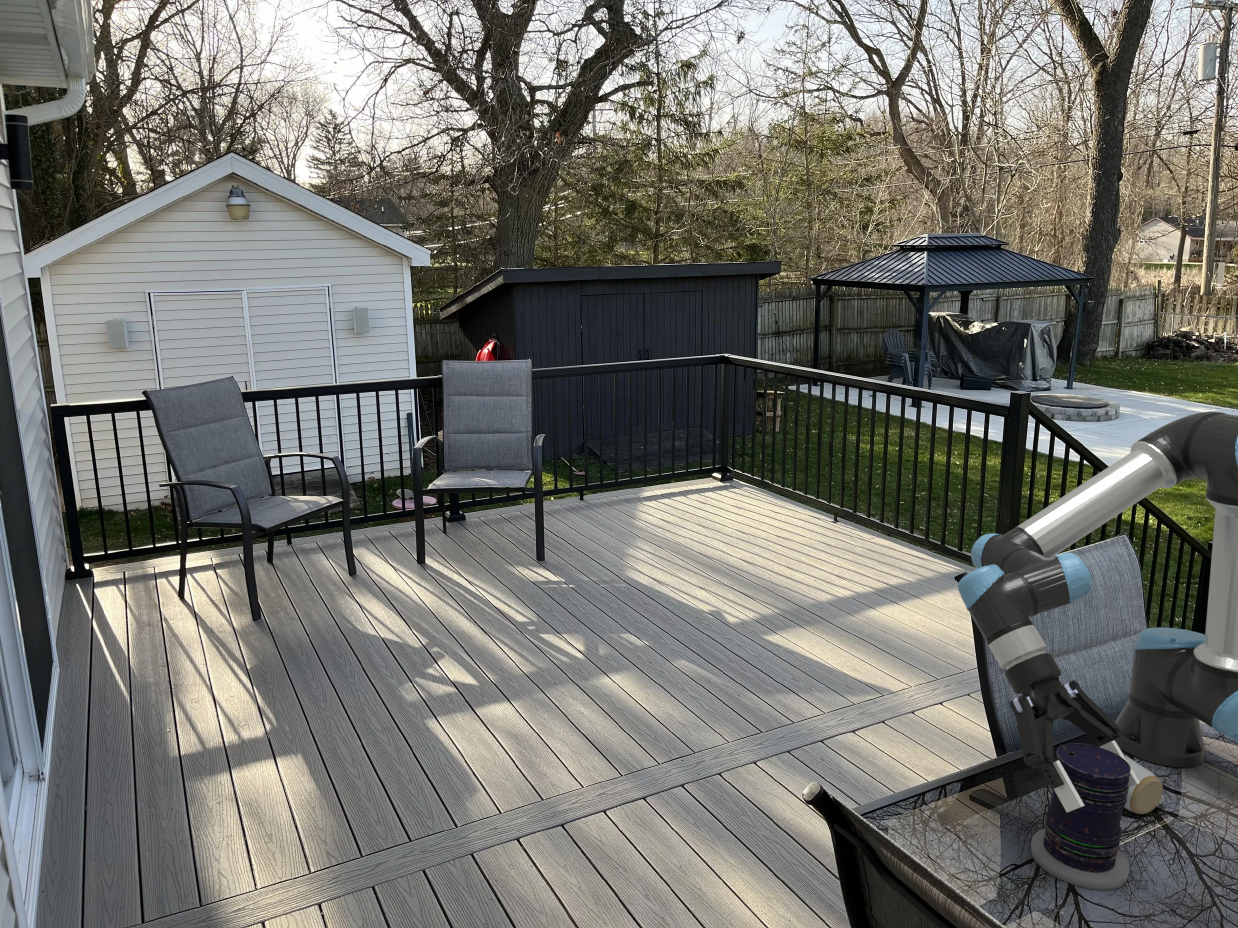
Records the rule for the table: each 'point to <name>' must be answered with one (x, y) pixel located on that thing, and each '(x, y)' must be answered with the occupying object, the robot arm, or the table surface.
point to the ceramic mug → (1143, 790)
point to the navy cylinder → (1088, 809)
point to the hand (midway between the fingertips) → (1104, 797)
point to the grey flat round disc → (1078, 877)
